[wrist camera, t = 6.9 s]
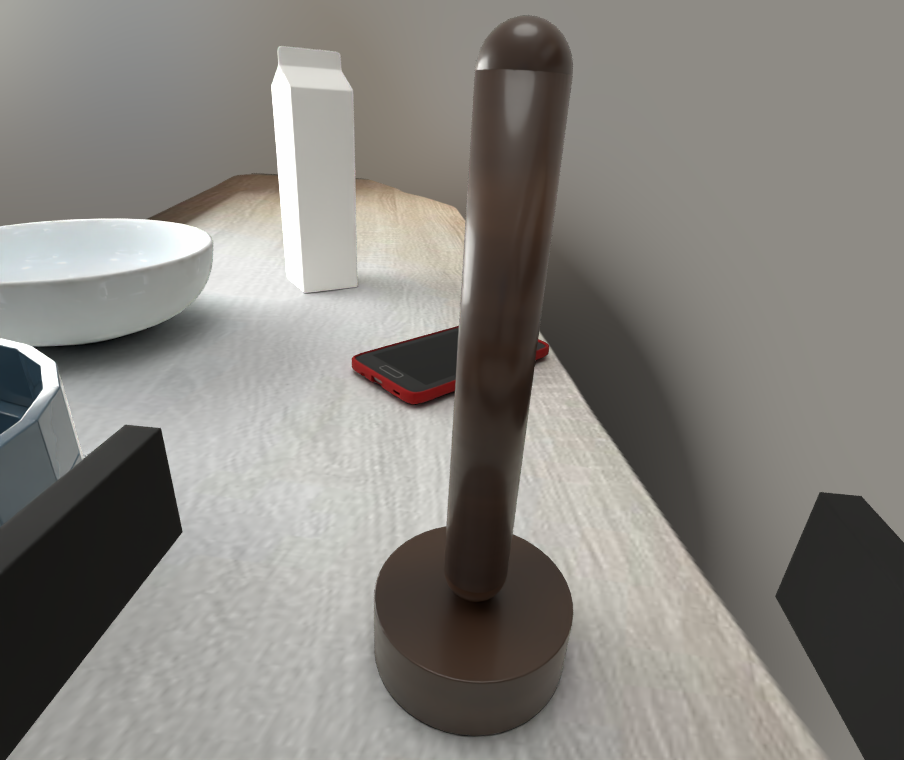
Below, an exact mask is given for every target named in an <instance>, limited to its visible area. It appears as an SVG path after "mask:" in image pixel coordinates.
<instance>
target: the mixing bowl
mask: <svg viewBox="0 0 904 760" xmlns="http://www.w3.org/2000/svg"><path fill="white" fill-rule="evenodd" d="M83 459H84V456H83V453H82V449H81V446H80V442H79V439H78V435H77V432H76V428H75V425H74V421H73V418H72V414H71V411H70V407H69V404H68V400H67V397H66V393H65V390H64V387H63V383H62V380H61V376H60V373H59V369H58V366H57V363H56V362H55V361H53V360H52V359H50V358H49V357H47V356H46V355H44V354H43V353H41V352H40V351H38V350H37V349H35V348H34V347H32V346H30V345H27V344H23V343H18V342H14V341H10V340H5V339H1V338H0V527H1V526H2V525H3V524H5V523H6V522H7V521H8V520H9V519H11V518H12V517H13V516H14V515H16V514H17V513H18V512H19V511H20V510H22V509H23V508H24V507H25V506H27V505H28V504H29V503H30V502H31V501H33V500H34V499H35V498H36V497H38V496H39V495H40V494H41V493H42V492H44V491H45V490H46V489H47V488H49V487H50V486H51V485H52V484H53V483H55V482H56V481H57V480H58V479H60V478H61V477H62V476H63V475H64V474H66V473H67V472H68V471H69V470H71V469H72V468H73V467H74V466H75V465H77V464H78V463H79V462H80V461H82V460H83Z"/></svg>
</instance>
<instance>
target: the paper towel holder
mask: <svg viewBox="0 0 904 760" xmlns="http://www.w3.org/2000/svg"><path fill="white" fill-rule="evenodd" d="M572 73H573V62H572V54H571V51H570V48H569V45H568V42H567V41H566V39H565V37H564V35H563V34H562V33H561V32H560V30H558V28H557V27H556V26H555V25H553V24H551V23H550V22H549V21H547V20H545V19H543V18H540V17H537V16H530V15H523V16H518V17H514V18H510V19H508V20H507V21H505V22H503V23H501V24H500V25H498V26H497V27H496V28H495V29H494V30H493V31H492V32H491V33H490V34H489V36H488V37H487V38H486V39H485V41H484V43H483V45H482V47H481V49H480V51H479V54H478V58H477V61H476V67H475V79H474V96H473V112H472V127H471V143H470V159H469V176H468V192H467V208H466V223H465V239H464V255H463V271H462V287H461V303H460V319H459V335H458V351H457V367H456V383H455V399H454V415H453V431H452V447H451V463H450V479H449V495H448V511H447V526H446V527H441V528H436V529H433V530H430V531H427V532H424V533H422V534H419V535H417V536H415V537H413V538H411V539H410V540H408V541H406V542H405V543H404V544H402V545H401V546H400V547H398V548H397V549H396V550H395V551H394V552H393V553H392V554H391V555H390V557H389V558H388V559H387V561H386V562H385V563H384V565H383V567H382V569H381V570H380V572H379V575H378V578H377V580H376V585H375V590H374V649H375V659H376V664H377V668H378V671H379V674H380V676H381V678H382V681H383V683H384V685H385V686H386V688H387V690H388V691H389V693H390V694H391V696H392V697H393V698H394V699H395V700H396V701H397V702H398V704H399V705H400V706H401V707H403V708H404V709H405V710H406V711H407V712H408V713H409V714H411V715H412V716H414V717H415V718H417V719H418V720H420V721H421V722H423V723H425V724H427V725H429V726H431V727H434V728H436V729H439V730H442V731H445V732H449V733H454V734H459V735H471V736H480V735H491V734H496V733H500V732H504V731H507V730H510V729H513V728H515V727H517V726H519V725H521V724H523V723H525V722H527V721H528V720H530V719H531V718H532V717H533V716H535V715H536V714H537V713H539V712H540V711H541V709H542V708H543V707H544V706H545V705H546V704H547V703H548V701H549V700H550V699H551V697H552V696H553V694H554V692H555V690H556V688H557V686H558V684H559V680H560V677H561V673H562V669H563V664H564V659H565V655H566V650H567V645H568V640H569V636H570V631H571V626H572V620H573V602H572V597H571V593H570V590H569V587H568V585H567V582H566V580H565V579H564V577H563V575H562V573H561V572H560V570H559V569H558V568H557V566H556V565H555V564H554V563H553V562H552V560H551V559H550V558H549V557H548V556H547V555H545V554H544V553H543V552H542V551H541V550H540V549H538V548H537V547H535V546H534V545H533V544H531V543H529V542H528V541H526V540H524V539H522V538H520V537H518V536H516V535H513V527H514V519H515V512H516V504H517V496H518V489H519V481H520V473H521V466H522V458H523V451H524V443H525V435H526V428H527V420H528V412H529V405H530V397H531V390H532V382H533V374H534V367H535V359H536V351H537V344H538V336H539V328H540V321H541V313H542V305H543V298H544V290H545V283H546V274H547V267H548V260H549V252H550V244H551V237H552V228H553V222H554V213H555V206H556V199H557V191H558V183H559V176H560V167H561V160H562V153H563V145H564V137H565V130H566V122H567V114H568V106H569V98H570V92H571V84H572Z"/></svg>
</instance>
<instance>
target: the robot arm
mask: <svg viewBox="0 0 904 760" xmlns="http://www.w3.org/2000/svg"><path fill="white" fill-rule="evenodd" d="M181 533H182V527H181V522H180V517H179V512H178V508H177V503H176V498H175V493H174V488H173V484H172V479H171V474H170V469H169V464H168V460H167V455H166V450H165V445H164V440H163V436H162V431H161V428H153V427H143V426H133V425H124V426H123V427H122V428H121V429H120V430H118V431H117V432H116V433H115V434H113V435H112V436H111V437H110V438H109V439H107V440H106V441H105V442H104V443H102V444H101V445H100V446H99V447H98V448H96V449H95V450H94V451H93V452H91V453H90V454H89V455H88V456H86V457H85V458H84V459H83V460H82V461H80V462H79V463H78V464H77V465H75V466H74V467H73V468H72V469H71V470H69V471H68V472H67V473H66V474H64V475H63V476H62V477H61V478H60V479H58V480H57V481H56V482H55V483H53V484H52V485H51V486H50V487H49V488H47V489H46V490H45V491H44V492H42V493H41V494H40V495H39V496H38V497H36V498H35V499H34V500H33V501H31V502H30V503H29V504H28V505H27V506H25V507H24V508H23V509H22V510H20V511H19V512H18V513H17V514H16V515H14V516H13V517H12V518H11V519H9V520H8V521H7V522H6V523H5V524H3V525H2V526H1V527H0V760H6V759H7V758H8V756H9V755H10V754H11V752H12V751H13V750H14V748H15V747H16V746H17V745H18V743H19V742H20V741H21V739H22V738H23V737H24V736H25V734H26V733H27V732H28V730H29V729H30V728H31V727H32V725H33V724H34V723H35V721H36V720H37V719H38V718H39V716H40V715H41V714H42V712H43V711H44V710H45V709H46V707H47V706H48V705H49V703H50V702H51V701H52V700H53V698H54V697H55V696H56V694H57V693H58V692H59V691H60V689H61V688H62V687H63V685H64V684H65V683H66V682H67V680H68V679H69V678H70V676H71V675H72V674H73V672H74V671H75V670H76V669H77V667H78V666H79V665H80V663H81V662H82V661H83V660H84V658H85V657H86V656H87V654H88V653H89V652H90V651H91V649H92V648H93V647H94V645H95V644H96V643H97V642H98V640H99V639H100V638H101V636H102V635H103V634H104V633H105V631H106V630H107V629H108V627H109V626H110V625H111V624H112V622H113V621H114V620H115V618H116V617H117V616H118V615H119V613H120V612H121V611H122V609H123V608H124V607H125V605H126V604H127V603H128V602H129V600H130V599H131V598H132V596H133V595H134V594H135V593H136V591H137V590H138V589H139V587H140V586H141V585H142V584H143V582H144V581H145V580H146V578H147V577H148V576H149V575H150V573H151V572H152V571H153V569H154V568H155V567H156V566H157V564H158V563H159V562H160V560H161V559H162V558H163V557H164V555H165V554H166V553H167V551H168V550H169V549H170V548H171V546H172V545H173V544H174V542H175V541H176V540H177V538H178V537H179V536H180V535H181ZM776 599H777V600H778V602H779V604H780V606H781V608H782V609H783V611H784V613H785V615H786V617H787V619H788V620H789V622H790V624H791V626H792V628H793V629H794V631H795V633H796V635H797V637H798V639H799V641H800V642H801V644H802V646H803V648H804V649H805V651H806V653H807V655H808V657H809V659H810V660H811V662H812V664H813V666H814V667H815V669H816V672H817V673H818V675H819V677H820V679H821V681H822V682H823V684H824V686H825V688H826V690H827V692H828V693H829V695H830V697H831V699H832V701H833V703H834V704H835V706H836V708H837V710H838V711H839V714H840V715H841V717H842V719H843V721H844V722H845V725H846V726H847V728H848V730H849V732H850V734H851V735H852V737H853V739H854V741H855V743H856V744H857V746H858V748H859V750H860V752H861V754H862V756H863V757H864V759H865V760H904V542H903V541H902V540H901V539H900V538H899V537H898V536H897V535H896V534H895V533H894V531H893V530H892V529H891V528H890V527H889V526H888V525H887V524H886V523H885V522H884V521H883V519H882V518H881V517H880V516H879V515H878V514H877V513H876V512H875V511H874V510H873V508H872V507H871V506H870V505H869V504H868V503H867V502H866V501H865V500H864V499H863V498H862V496H854V495H844V494H833V493H823V492H820V493H819V495H818V498H817V500H816V502H815V505H814V507H813V510H812V512H811V514H810V516H809V519H808V521H807V524H806V526H805V528H804V530H803V533H802V535H801V537H800V540H799V542H798V544H797V547H796V549H795V551H794V554H793V556H792V558H791V561H790V563H789V565H788V568H787V570H786V573H785V575H784V577H783V579H782V582H781V584H780V587H779V589H778V591H777V593H776Z"/></svg>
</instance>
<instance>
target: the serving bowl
mask: <svg viewBox="0 0 904 760" xmlns="http://www.w3.org/2000/svg"><path fill="white" fill-rule="evenodd" d="M212 261H213V240H212V237H211V236H210V235H209V234H208V233H206V232H205V231H203V230H201V229H198V228H196V227H192V226H188V225H184V224H179V223H172V222H164V221H155V220H141V219H82V220H61V221H46V222H35V223H24V224H16V225H8V226H0V338H1V339H5V340H10V341H14V342H18V343H23V344H27V345H30V346H62V345H79V344H88V343H95V342H100V341H106V340H110V339H114V338H117V337H121V336H124V335H127V334H131V333H135V332H138V331H141V330H144V329H147V328H149V327H152V326H155V325H157V324H160V323H162V322H164V321H166V320H168V319H170V318H172V317H174V316H175V315H177V314H178V313H180V312H182V311H183V310H184V309H186V308H187V307H188V306H189V305H190V304H191V303H193V302H194V300H195V299H196V298H197V297H198V296H199V295H200V293H201V292H202V290H203V289H204V287H205V285H206V283H207V281H208V279H209V275H210V272H211V268H212Z"/></svg>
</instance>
